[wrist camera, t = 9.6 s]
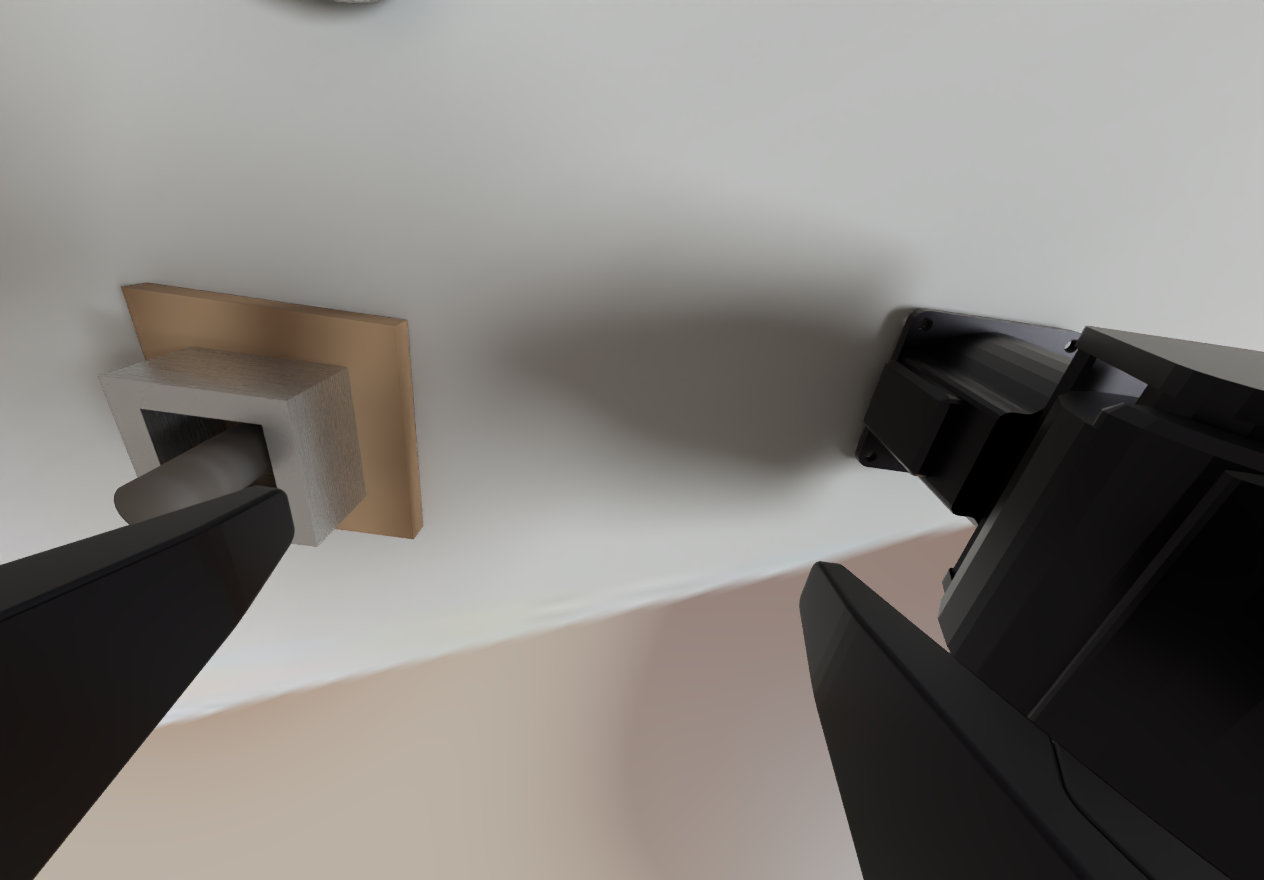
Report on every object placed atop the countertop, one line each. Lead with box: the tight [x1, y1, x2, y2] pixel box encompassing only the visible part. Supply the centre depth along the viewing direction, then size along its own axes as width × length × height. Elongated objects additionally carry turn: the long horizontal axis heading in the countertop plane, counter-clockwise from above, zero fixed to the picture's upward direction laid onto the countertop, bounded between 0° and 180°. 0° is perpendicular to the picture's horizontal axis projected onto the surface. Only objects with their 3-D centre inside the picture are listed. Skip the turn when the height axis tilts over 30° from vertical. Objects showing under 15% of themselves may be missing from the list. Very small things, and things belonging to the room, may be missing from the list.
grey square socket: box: [98, 346, 367, 547], centre depth 18 cm, size 6×6×4 cm
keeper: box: [114, 283, 423, 539], centre depth 18 cm, size 10×10×7 cm
